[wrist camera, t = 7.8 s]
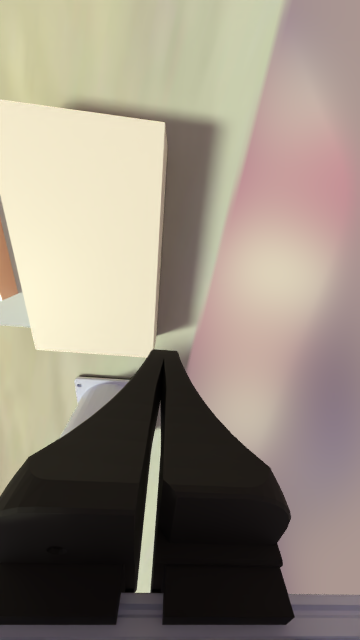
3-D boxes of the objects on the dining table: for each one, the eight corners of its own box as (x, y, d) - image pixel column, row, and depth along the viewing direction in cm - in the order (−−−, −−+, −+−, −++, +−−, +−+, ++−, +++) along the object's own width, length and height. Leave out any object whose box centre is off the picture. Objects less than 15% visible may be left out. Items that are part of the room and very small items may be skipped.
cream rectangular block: (156, 335, 22) (152, 357, 18) (59, 328, 21) (35, 349, 18) (167, 147, 15) (165, 122, 11) (27, 128, 15) (-23, 96, 11)
